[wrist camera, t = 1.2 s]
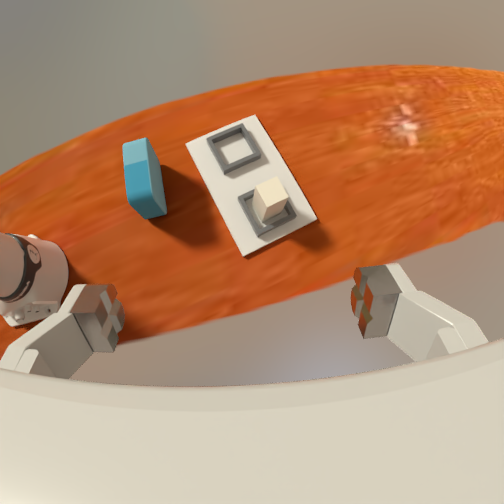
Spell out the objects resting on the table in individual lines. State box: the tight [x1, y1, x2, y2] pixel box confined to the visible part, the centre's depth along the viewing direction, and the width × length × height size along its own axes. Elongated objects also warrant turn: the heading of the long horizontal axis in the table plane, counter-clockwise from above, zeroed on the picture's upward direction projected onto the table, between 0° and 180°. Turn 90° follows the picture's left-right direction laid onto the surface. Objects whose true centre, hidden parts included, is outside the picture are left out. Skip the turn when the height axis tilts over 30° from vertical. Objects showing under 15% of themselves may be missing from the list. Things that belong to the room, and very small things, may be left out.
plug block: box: [252, 176, 289, 223], centre depth 56 cm, size 4×4×10 cm
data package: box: [123, 138, 167, 219], centre depth 55 cm, size 12×4×12 cm, turn 13°
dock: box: [186, 115, 317, 257], centre depth 61 cm, size 16×26×3 cm, turn 27°
